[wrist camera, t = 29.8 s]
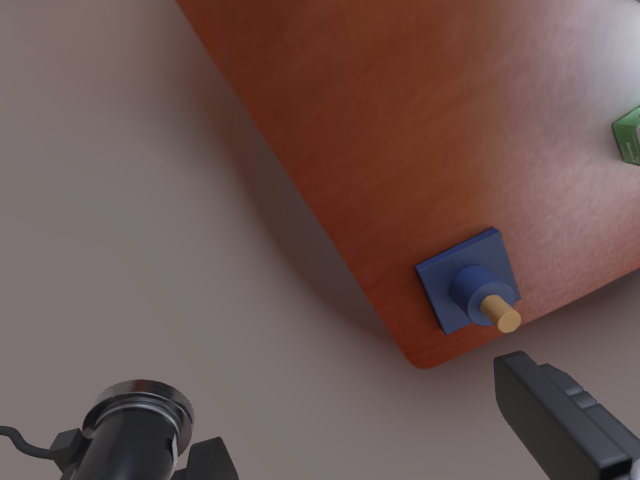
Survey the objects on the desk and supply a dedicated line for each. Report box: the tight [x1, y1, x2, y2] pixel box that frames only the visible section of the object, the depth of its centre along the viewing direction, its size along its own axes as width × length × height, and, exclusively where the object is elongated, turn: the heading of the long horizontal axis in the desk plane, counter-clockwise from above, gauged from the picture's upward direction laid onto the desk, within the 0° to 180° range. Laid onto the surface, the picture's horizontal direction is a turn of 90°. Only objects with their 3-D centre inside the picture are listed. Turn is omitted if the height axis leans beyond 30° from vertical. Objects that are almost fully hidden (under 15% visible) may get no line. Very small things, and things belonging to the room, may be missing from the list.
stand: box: [415, 227, 521, 335], centre depth 38 cm, size 9×9×8 cm
